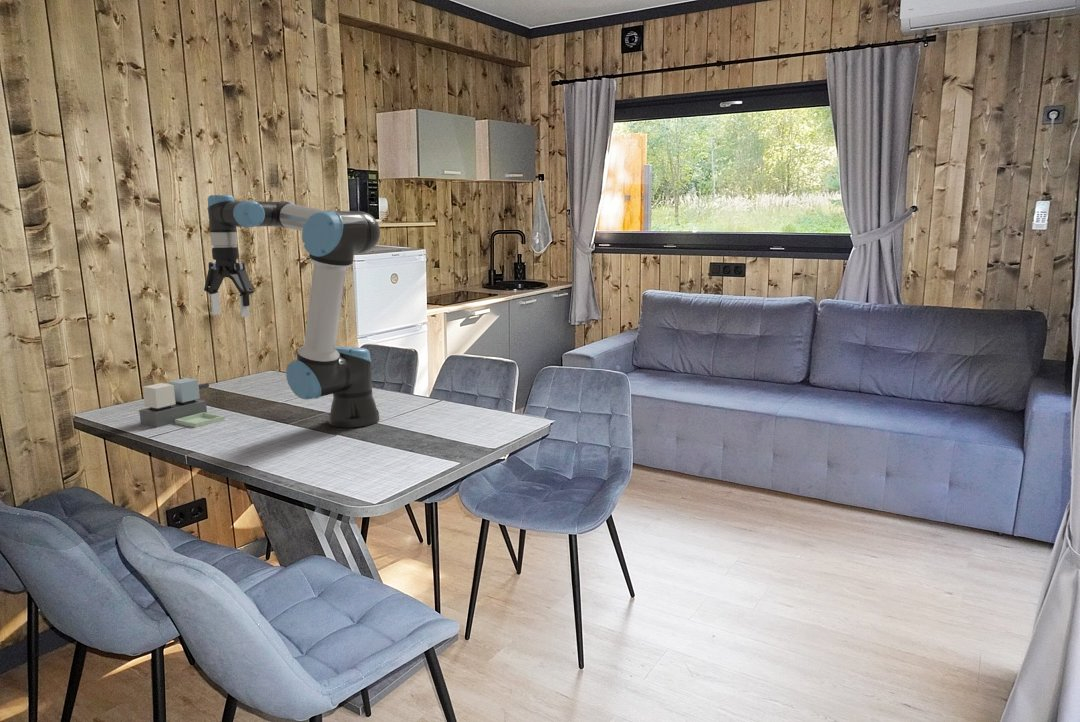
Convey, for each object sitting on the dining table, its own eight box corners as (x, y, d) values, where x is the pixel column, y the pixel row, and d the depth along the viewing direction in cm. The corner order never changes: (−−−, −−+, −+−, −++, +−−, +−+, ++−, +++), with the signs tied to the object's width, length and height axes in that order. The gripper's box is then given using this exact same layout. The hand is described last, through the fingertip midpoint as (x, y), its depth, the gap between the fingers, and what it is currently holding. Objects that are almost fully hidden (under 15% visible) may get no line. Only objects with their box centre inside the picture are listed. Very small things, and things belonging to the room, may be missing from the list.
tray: (224, 421, 233) (224, 416, 232) (196, 429, 224) (195, 423, 224) (204, 417, 238) (203, 412, 237) (175, 425, 229) (174, 419, 229)
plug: (158, 424, 226) (155, 388, 224) (146, 422, 229) (142, 386, 227) (177, 420, 231) (173, 384, 229) (165, 417, 234) (161, 382, 232)
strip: (218, 413, 243) (214, 376, 240) (157, 429, 225) (152, 390, 223) (202, 410, 247) (198, 374, 244) (140, 426, 229) (136, 387, 227)
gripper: (262, 246, 228) (267, 316, 232) (209, 245, 241) (215, 312, 245) (241, 247, 222) (247, 319, 226) (188, 246, 234) (194, 314, 238)
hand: (230, 315), depth 235 cm, fingers open, 13 cm apart
